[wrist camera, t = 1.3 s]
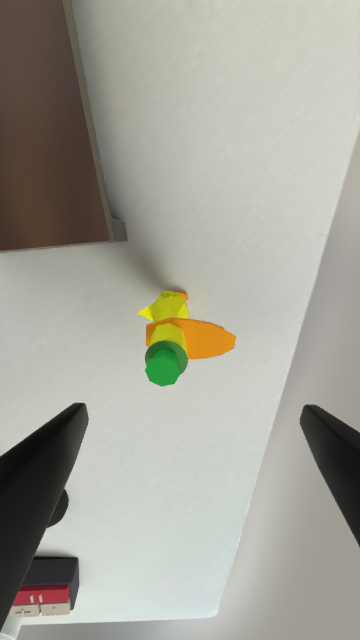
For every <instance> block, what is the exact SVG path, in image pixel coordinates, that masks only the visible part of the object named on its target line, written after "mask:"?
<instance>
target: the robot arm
mask: <svg viewBox="0 0 360 640" xmlns="http://www.w3.org/2000/svg"><path fill="white" fill-rule="evenodd" d="M88 420H89V418H88V413H87V408H86V404H85V403H74V404H72V405H71V406H69V407H68V408H66V409H65V410H64V411H62V412H61V413H60V414H58V415H57V416H55V417H54V418H53V419H51V420H50V421H49V422H47V423H46V424H44V425H43V426H42V427H40V428H39V429H38V430H36V431H35V432H33V433H32V434H31V435H29V436H28V437H27V438H25V439H24V440H22V441H21V442H20V443H18V444H17V445H16V446H14V447H13V448H11V449H10V450H9V451H7V452H6V453H5V454H3V455H2V456H0V632H1V630H2V628H3V625H4V623H5V621H6V619H7V616H8V614H9V612H10V609H11V607H12V605H13V603H14V600H15V598H16V596H17V594H18V591H19V589H20V587H21V584H22V582H23V580H24V578H25V575H26V573H27V571H28V569H29V566H30V564H31V562H32V559H33V557H34V555H35V553H36V550H37V548H38V546H39V544H40V541H41V539H42V537H43V534H44V532H45V530H46V528H47V525H48V523H49V521H50V519H51V516H52V514H53V512H54V510H55V507H56V505H57V503H58V500H59V498H60V496H61V494H62V491H63V489H64V487H65V485H66V482H67V480H68V478H69V475H70V473H71V471H72V468H73V466H74V464H75V461H76V458H77V455H78V452H79V449H80V446H81V443H82V440H83V437H84V434H85V431H86V428H87V425H88ZM300 425H301V428H302V430H303V433H304V435H305V437H306V440H307V442H308V444H309V447H310V449H311V452H312V454H313V457H314V459H315V461H316V464H317V466H318V468H319V470H320V472H321V473H322V475H323V477H324V479H325V481H326V483H327V485H328V487H329V489H330V491H331V493H332V495H333V497H334V498H335V501H336V502H337V504H338V506H339V508H340V510H341V512H342V514H343V516H344V518H345V520H346V522H347V524H348V525H349V527H350V529H351V531H352V533H353V535H354V537H355V538H356V541H357V543H358V544H359V546H360V433H359V432H358V431H356V430H355V429H353V428H352V427H350V426H348V425H347V424H345V423H344V422H342V421H341V420H339V419H337V418H336V417H334V416H333V415H331V414H330V413H328V412H326V411H325V410H323V409H322V408H320V407H318V406H317V405H305V406H304V407H303V410H302V414H301V417H300Z"/></svg>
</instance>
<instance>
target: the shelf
mask: <svg viewBox="0 0 360 640" xmlns="http://www.w3.org/2000/svg"><path fill="white" fill-rule="evenodd" d="M122 241H127V235H126V229H125V223H124V222H121V221H119V220H116V219H113V218H111V214H110V209H109V203H108V198H107V193H106V187H105V182H104V177H103V171H102V166H101V161H100V155H99V150H98V145H97V139H96V134H95V129H94V123H93V118H92V113H91V107H90V102H89V97H88V91H87V86H86V81H85V75H84V70H83V65H82V59H81V54H80V49H79V43H78V38H77V33H76V27H75V22H74V17H73V11H72V6H71V1H70V0H0V253H4V252H15V251H25V250H36V249H47V248H58V247H68V246H79V245H90V244H100V243H111V242H122Z"/></svg>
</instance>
